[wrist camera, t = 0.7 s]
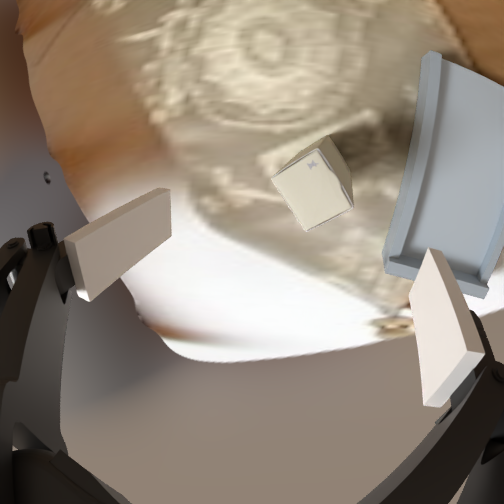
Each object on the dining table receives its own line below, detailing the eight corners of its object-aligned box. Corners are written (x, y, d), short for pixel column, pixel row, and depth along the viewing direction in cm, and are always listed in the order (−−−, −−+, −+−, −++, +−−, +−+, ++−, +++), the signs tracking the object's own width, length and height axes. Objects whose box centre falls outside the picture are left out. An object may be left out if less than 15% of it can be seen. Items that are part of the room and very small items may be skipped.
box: (296, 153, 31) (265, 175, 20) (329, 133, 29) (316, 143, 18) (321, 192, 32) (304, 235, 21) (354, 174, 30) (356, 208, 19)
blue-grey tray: (421, 57, 21) (433, 48, 17) (520, 102, 18) (541, 103, 14) (381, 252, 33) (385, 273, 29) (472, 277, 29) (483, 299, 25)
